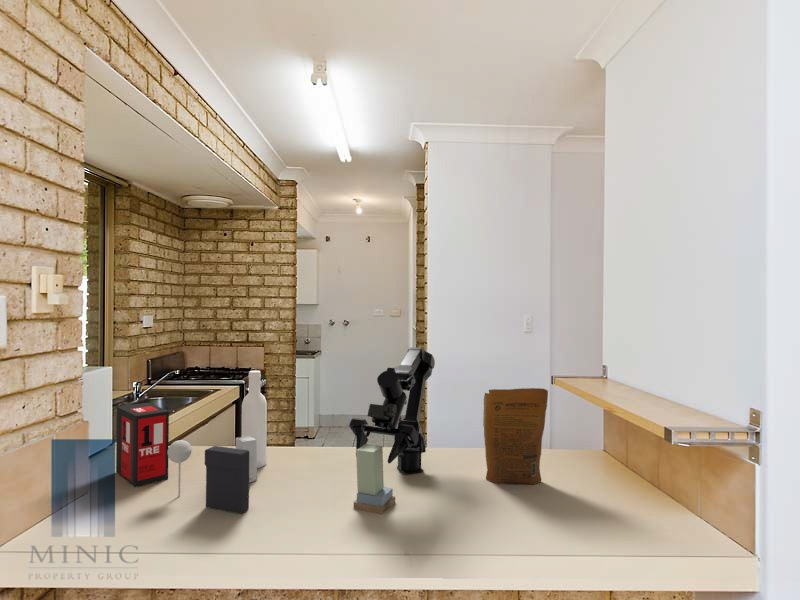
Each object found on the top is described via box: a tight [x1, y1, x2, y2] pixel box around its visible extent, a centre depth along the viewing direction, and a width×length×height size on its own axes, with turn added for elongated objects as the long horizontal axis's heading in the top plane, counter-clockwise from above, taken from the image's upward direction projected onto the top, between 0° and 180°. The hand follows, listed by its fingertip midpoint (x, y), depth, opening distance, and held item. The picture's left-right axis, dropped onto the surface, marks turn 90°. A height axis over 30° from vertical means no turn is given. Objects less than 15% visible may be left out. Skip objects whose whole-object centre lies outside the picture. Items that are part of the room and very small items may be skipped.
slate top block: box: [356, 486, 394, 507], centre depth 128 cm, size 7×7×2 cm
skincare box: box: [235, 435, 258, 483], centre depth 145 cm, size 6×4×12 cm
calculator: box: [204, 445, 250, 515], centre depth 125 cm, size 11×4×15 cm, turn 71°
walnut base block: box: [353, 495, 396, 515], centre depth 128 cm, size 8×8×2 cm
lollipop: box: [167, 439, 193, 498], centre depth 132 cm, size 6×6×15 cm
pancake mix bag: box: [482, 387, 549, 485], centre depth 145 cm, size 7×19×28 cm, turn 87°
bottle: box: [240, 370, 268, 469], centre depth 157 cm, size 8×8×30 cm
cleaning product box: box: [115, 402, 170, 488], centre depth 147 cm, size 16×9×20 cm, turn 46°
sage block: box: [355, 443, 385, 495], centre depth 128 cm, size 5×5×11 cm
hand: (372, 460), depth 126 cm, fingers open, 9 cm apart
